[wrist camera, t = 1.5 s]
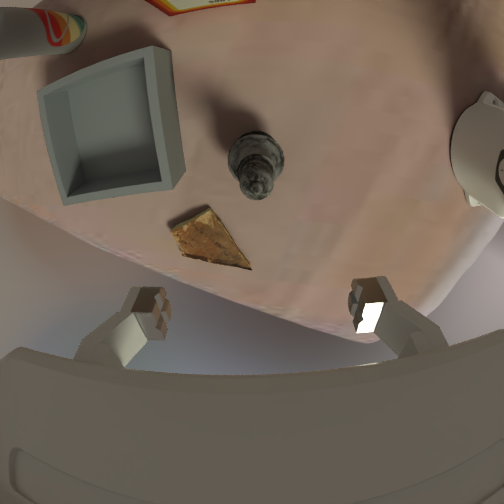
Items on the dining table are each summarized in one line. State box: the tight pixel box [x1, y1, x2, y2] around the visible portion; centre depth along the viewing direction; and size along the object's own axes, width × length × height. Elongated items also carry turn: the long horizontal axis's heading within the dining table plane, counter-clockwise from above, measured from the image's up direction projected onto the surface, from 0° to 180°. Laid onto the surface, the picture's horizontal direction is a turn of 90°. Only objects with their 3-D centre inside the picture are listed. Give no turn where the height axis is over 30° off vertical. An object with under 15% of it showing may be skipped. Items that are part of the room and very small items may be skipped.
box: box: [37, 45, 186, 206], centre depth 25 cm, size 15×15×6 cm
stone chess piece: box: [228, 131, 284, 200], centre depth 25 cm, size 6×6×12 cm
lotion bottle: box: [0, 7, 87, 60], centre depth 11 cm, size 6×6×20 cm
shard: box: [170, 208, 252, 270], centre depth 38 cm, size 11×8×2 cm
